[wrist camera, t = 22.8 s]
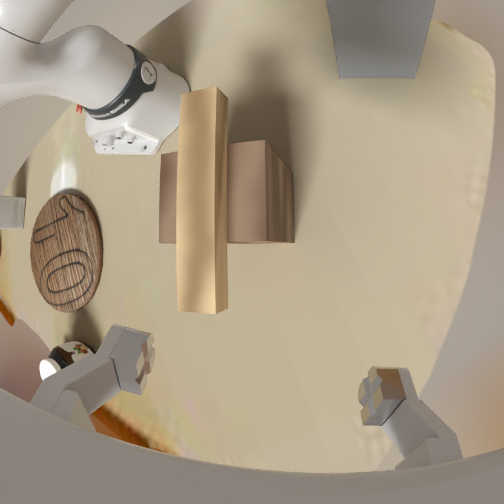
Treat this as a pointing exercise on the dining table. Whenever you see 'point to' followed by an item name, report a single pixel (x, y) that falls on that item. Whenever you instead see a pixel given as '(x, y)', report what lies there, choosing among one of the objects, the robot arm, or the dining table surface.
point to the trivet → (67, 252)
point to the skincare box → (12, 212)
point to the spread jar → (63, 357)
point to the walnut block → (241, 195)
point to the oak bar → (202, 202)
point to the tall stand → (379, 36)
